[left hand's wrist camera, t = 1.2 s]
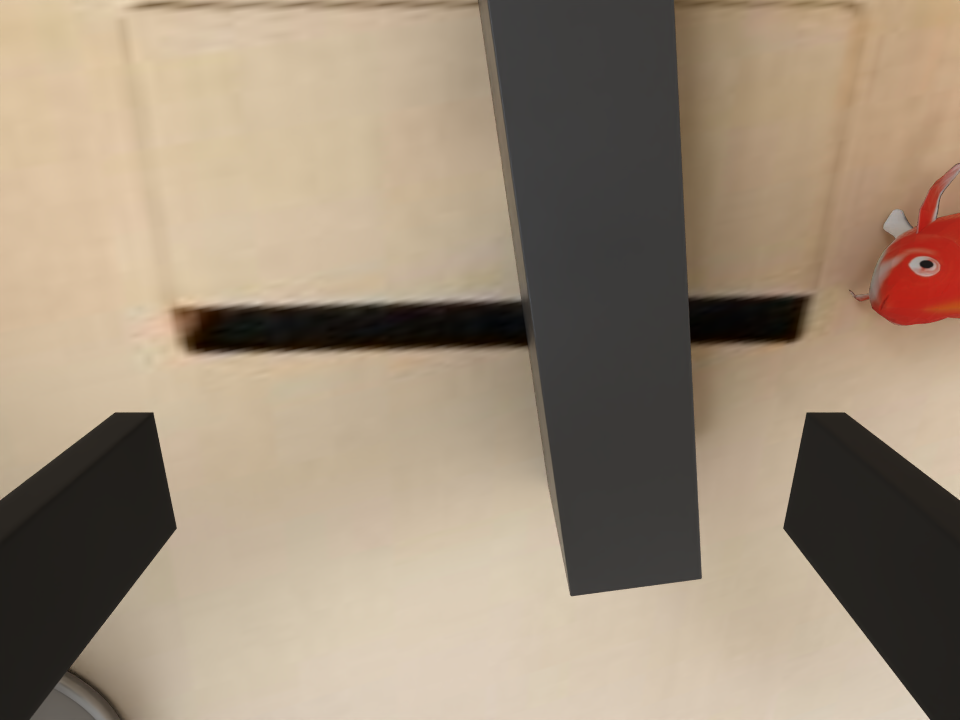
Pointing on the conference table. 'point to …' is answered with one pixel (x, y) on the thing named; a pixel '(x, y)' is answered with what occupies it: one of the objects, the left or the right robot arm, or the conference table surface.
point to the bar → (602, 276)
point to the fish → (919, 264)
